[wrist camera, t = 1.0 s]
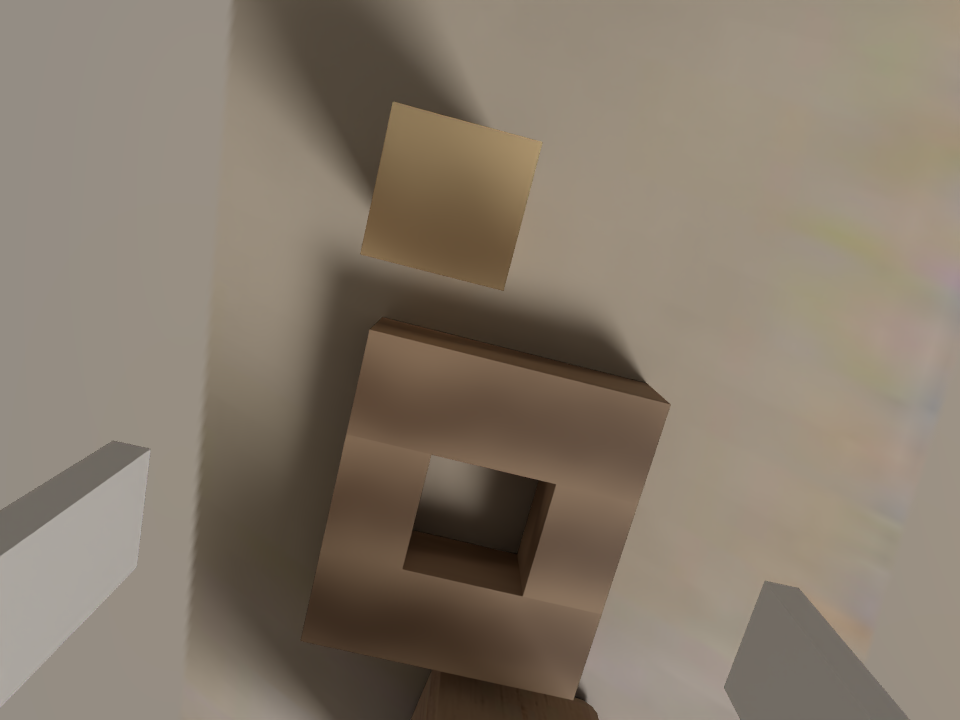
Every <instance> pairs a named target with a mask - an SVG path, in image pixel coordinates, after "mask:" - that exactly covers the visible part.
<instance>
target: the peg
mask: <svg viewBox="0 0 960 720" xmlns="http://www.w3.org/2000/svg"><path fill="white" fill-rule="evenodd" d="M542 143H543V142H540V141H536V140H533V139H529V138H525V137H522V136H518V135H514V134H511V133H507V132H503V131H500V130H496V129H492V128H489V127H485V126H481V125H478V124H474V123H470V122H466V121H463V120H459V119H455V118H452V117H448V116H444V115H441V114H437V113H433V112H430V111H426V110H422V109H419V108H415V107H411V106H408V105H404V104H400V103H397V102H393V103H392V108H391V113H390V117H389V122H388V127H387V131H386V136H385V141H384V146H383V150H382V155H381V160H380V164H379V169H378V174H377V178H376V183H375V188H374V192H373V197H372V202H371V206H370V211H369V216H368V220H367V225H366V230H365V234H364V239H363V244H362V249H361V253H360V254H361V255H365V256H369V257H373V258H377V259H381V260H385V261H389V262H393V263H396V264H400V265H404V266H408V267H412V268H416V269H420V270H424V271H428V272H432V273H436V274H439V275H443V276H447V277H451V278H455V279H459V280H463V281H467V282H471V283H475V284H478V285H482V286H486V287H490V288H494V289H498V290H502V291H504V287H505V283H506V279H507V276H508V272H509V268H510V264H511V260H512V257H513V253H514V249H515V245H516V241H517V238H518V234H519V230H520V226H521V222H522V219H523V215H524V211H525V207H526V203H527V200H528V196H529V192H530V188H531V184H532V181H533V177H534V173H535V169H536V165H537V162H538V158H539V154H540V150H541V146H542Z"/></svg>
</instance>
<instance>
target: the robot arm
mask: <svg viewBox="0 0 960 720" xmlns="http://www.w3.org/2000/svg"><path fill="white" fill-rule="evenodd" d="M150 451H151V449H149V448H145V447H140V446H135V445H131V444H126V443H122V442H117V441H112V442H110V443H108V444H107V445H105V446H104V447H102V448H100V449H99V450H97V451H95V452H94V453H92V454H91V455H89V456H87V457H86V458H84V459H83V460H81V461H79V462H78V463H76V464H74V465H73V466H71V467H70V468H68V469H66V470H65V471H63V472H62V473H60V474H58V475H57V476H55V477H53V478H52V479H50V480H49V481H47V482H45V483H44V484H42V485H41V486H39V487H37V488H36V489H34V490H32V491H31V492H29V493H28V494H26V495H24V496H23V497H21V498H19V499H18V500H16V501H15V502H13V503H11V504H10V505H8V506H7V507H5V508H3V509H2V510H0V707H1V706H2V705H3V704H4V703H5V702H6V701H7V700H8V699H9V698H10V697H11V696H12V695H13V694H14V693H15V692H16V691H17V690H18V689H19V688H20V687H21V686H22V685H23V684H24V683H25V682H26V681H27V680H28V678H29V677H30V676H31V675H32V674H33V673H34V672H35V671H36V670H37V669H38V668H39V667H40V666H41V665H42V664H43V663H44V662H45V661H46V660H47V659H48V658H49V657H50V656H51V655H52V654H53V653H54V652H55V651H56V650H57V649H58V648H59V647H60V646H61V644H62V643H64V641H65V640H66V639H67V638H68V637H69V636H70V635H71V634H72V633H73V632H74V631H75V630H76V629H77V628H78V627H79V626H80V625H81V624H82V623H83V622H84V621H85V620H86V619H87V618H88V617H89V616H90V615H91V614H92V613H93V612H94V611H95V609H97V607H99V606H100V604H101V603H102V602H103V601H104V600H105V599H106V598H107V597H108V596H109V595H110V594H111V593H112V592H113V591H114V590H115V589H116V588H117V587H118V586H119V585H120V584H121V583H122V582H123V581H124V580H125V579H126V578H127V577H128V576H129V575H130V573H131V572H133V570H135V568H136V567H137V563H138V554H139V545H140V537H141V528H142V520H143V510H144V502H145V494H146V486H147V476H148V468H149V460H150ZM724 688H725V690H726V692H727V694H728V696H729V698H730V700H731V702H732V704H733V706H734V708H735V710H736V712H737V714H738V716H739V718H740V720H910V719H909V718H908V717H907V716H906V715H905V713H904V712H903V711H902V710H901V709H900V707H899V706H898V705H897V704H896V703H895V701H894V700H893V699H892V698H891V697H890V695H889V694H888V693H887V692H886V691H885V690H884V688H883V687H882V686H881V685H880V684H879V682H878V681H877V680H876V679H875V678H874V677H873V675H872V674H871V673H870V672H869V671H868V670H867V668H866V667H865V666H864V665H863V664H862V662H861V661H860V660H859V659H858V658H857V656H856V655H855V654H854V653H853V652H852V650H851V649H850V648H849V647H848V646H847V645H846V643H845V642H844V641H843V640H842V639H841V637H840V636H839V635H838V634H837V633H836V632H835V630H834V629H833V628H832V627H831V626H830V624H829V623H828V622H827V621H826V620H825V618H824V617H823V616H822V615H821V614H820V613H819V611H818V610H817V609H816V608H815V607H814V605H813V604H812V603H811V602H810V601H809V600H808V598H807V597H806V596H805V595H804V594H803V592H802V591H801V590H800V589H799V588H796V587H792V586H787V585H782V584H778V583H773V582H768V581H765V582H764V584H763V587H762V589H761V592H760V595H759V597H758V600H757V602H756V605H755V608H754V610H753V613H752V615H751V618H750V621H749V623H748V626H747V628H746V631H745V634H744V636H743V639H742V642H741V644H740V647H739V649H738V652H737V655H736V657H735V660H734V662H733V665H732V668H731V670H730V673H729V675H728V678H727V681H726V683H725V686H724Z"/></svg>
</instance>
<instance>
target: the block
mask: <svg viewBox="0 0 960 720" xmlns="http://www.w3.org/2000/svg"><path fill="white" fill-rule="evenodd" d="M411 720H599V719H598V715H597V713H596V711H595V710H594V709H593V707H592V706H590V705H589V704H588V703H586V702H585V701H584V700H581V699H578V698H575V697H574V700H570V699H565V698H561V697H556V696H552V695H547V694H542V693H538V692H533V691H529V690H524V689H519V688H515V687H510V686H506V685H501V684H496V683H492V682H487V681H482V680H478V679H473V678H469V677H464V676H459V675H455V674H450V673H446V672H441V671H436V670H432V671H431V673H430V676H429V678H428V680H427V683H426V685H425V687H424V690H423V692H422V694H421V697H420V699H419V701H418V704H417V706H416V708H415V711H414V713H413V716H412V718H411Z"/></svg>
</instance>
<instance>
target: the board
mask: <svg viewBox="0 0 960 720" xmlns="http://www.w3.org/2000/svg"><path fill="white" fill-rule="evenodd" d="M670 405H671V404H670V403H668V402H667V401H666V400H665V399H664V398H663V397H662V396H661V395H659V394H658V393H657V392H656V391H655V390H654V389H653V388H651V387H650V386H649V385H648V384H647V383H643V382H639V381H635V380H631V379H627V378H623V377H619V376H615V375H611V374H607V373H604V372H600V371H596V370H592V369H588V368H584V367H580V366H576V365H572V364H568V363H564V362H560V361H556V360H552V359H548V358H544V357H540V356H536V355H532V354H528V353H524V352H520V351H516V350H512V349H508V348H504V347H500V346H496V345H492V344H488V343H484V342H480V341H476V340H472V339H468V338H464V337H460V336H456V335H452V334H448V333H444V332H440V331H436V330H432V329H428V328H424V327H420V326H416V325H412V324H408V323H404V322H400V321H396V320H392V319H388V318H384V317H382V318H381V319H380V320H379V321H378V322H377V323H376V324H375V325H374V326H373V327H372V328H371V329H370V330H369V334H368V339H367V343H366V348H365V352H364V357H363V361H362V366H361V370H360V375H359V379H358V384H357V388H356V393H355V397H354V402H353V406H352V411H351V415H350V420H349V424H348V429H347V433H346V438H345V442H344V447H343V451H342V456H341V460H340V465H339V469H338V474H337V478H336V483H335V487H334V492H333V496H332V501H331V505H330V510H329V514H328V519H327V523H326V528H325V532H324V537H323V541H322V546H321V550H320V555H319V559H318V564H317V568H316V573H315V577H314V582H313V586H312V591H311V595H310V600H309V604H308V609H307V613H306V618H305V622H304V627H303V631H302V636H301V641H303V642H307V643H312V644H317V645H321V646H326V647H330V648H335V649H340V650H344V651H349V652H353V653H358V654H363V655H367V656H372V657H376V658H381V659H386V660H390V661H395V662H400V663H404V664H409V665H413V666H418V667H423V668H427V669H432V670H436V671H441V672H446V673H450V674H455V675H459V676H464V677H469V678H473V679H478V680H482V681H487V682H492V683H496V684H501V685H506V686H510V687H515V688H519V689H524V690H529V691H533V692H538V693H542V694H547V695H552V696H556V697H561V698H565V699H570V700H574V697H575V693H576V690H577V687H578V684H579V681H580V678H581V675H582V672H583V669H584V666H585V663H586V660H587V657H588V654H589V651H590V648H591V645H592V642H593V639H594V636H595V633H596V630H597V627H598V624H599V621H600V618H601V615H602V612H603V609H604V606H605V603H606V599H607V596H608V593H609V590H610V587H611V584H612V581H613V578H614V575H615V572H616V569H617V566H618V563H619V560H620V557H621V554H622V551H623V548H624V545H625V542H626V539H627V536H628V533H629V530H630V527H631V524H632V521H633V518H634V515H635V512H636V509H637V505H638V502H639V499H640V496H641V493H642V490H643V487H644V484H645V481H646V478H647V475H648V472H649V469H650V466H651V463H652V460H653V457H654V454H655V451H656V448H657V445H658V442H659V439H660V436H661V433H662V430H663V427H664V424H665V421H666V418H667V415H668V411H669V408H670ZM431 455H435V456H440V457H444V458H448V459H452V460H456V461H461V462H465V463H469V464H473V465H477V466H482V467H486V468H490V469H494V470H498V471H503V472H507V473H511V474H515V475H519V476H524V477H528V478H532V479H536V480H539V482H538V485H537V489H536V492H535V495H534V499H533V502H532V506H531V509H530V512H529V516H528V519H527V523H526V526H525V530H524V533H523V536H522V540H521V543H520V547H519V550H518V553H517V554H513V553H509V552H505V551H500V550H496V549H492V548H487V547H483V546H479V545H474V544H470V543H466V542H461V541H457V540H453V539H448V538H444V537H439V536H435V535H431V534H426V533H422V532H418V531H413V530H412V529H413V525H414V521H415V517H416V513H417V509H418V505H419V502H420V498H421V494H422V490H423V486H424V482H425V478H426V474H427V470H428V466H429V462H430V458H431Z"/></svg>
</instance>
